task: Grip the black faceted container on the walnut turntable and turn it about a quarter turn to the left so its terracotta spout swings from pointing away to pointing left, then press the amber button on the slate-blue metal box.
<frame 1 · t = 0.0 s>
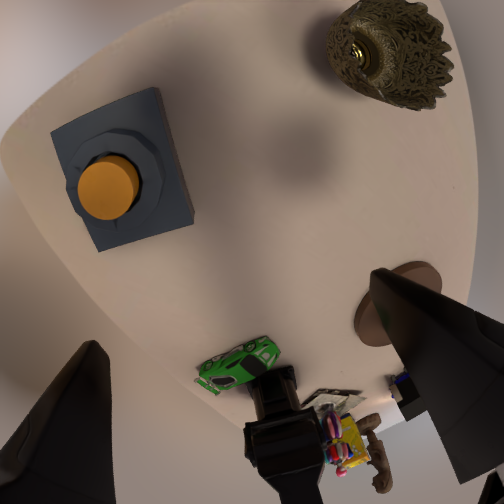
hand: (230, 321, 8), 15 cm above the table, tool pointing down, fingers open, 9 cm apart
turntable: (398, 304, 32), on the table
toy car: (237, 358, 32), on the table
figurine: (364, 421, 54), on the table
supplement box: (338, 420, 50), on the table
start button: (108, 187, 15), point 4 cm above the table, slide at 0.1 cm
button box: (126, 168, 19), on the table
black faceted container: (414, 320, 28), point 4 cm above the table, hinge at 0.0°
cup: (345, 56, 17), on the table
figurine character: (401, 379, 45), on the table
statue: (326, 403, 43), on the table
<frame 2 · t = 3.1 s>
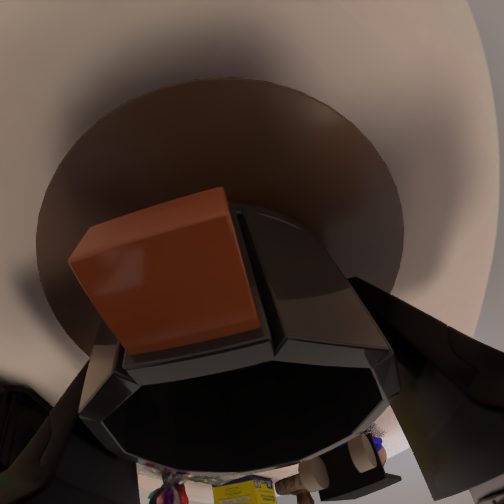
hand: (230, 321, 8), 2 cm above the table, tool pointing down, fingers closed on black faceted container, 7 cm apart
turntable: (222, 277, 10), on the table
figurine: (298, 477, 32), on the table
supplement box: (242, 479, 28), on the table
black faceted container: (227, 345, 6), point 4 cm above the table, hinge at 0.0°, touching gripper
figurine character: (344, 436, 23), on the table
statue: (184, 463, 21), on the table
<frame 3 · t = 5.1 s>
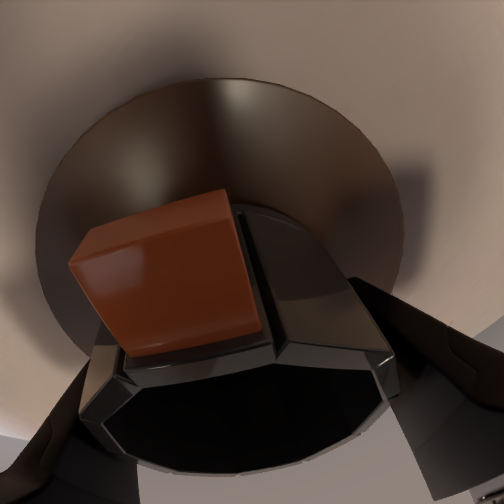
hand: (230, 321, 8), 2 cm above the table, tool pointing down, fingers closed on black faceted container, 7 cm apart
turntable: (222, 277, 10), on the table
black faceted container: (228, 347, 6), point 4 cm above the table, hinge at 99.8°, touching gripper
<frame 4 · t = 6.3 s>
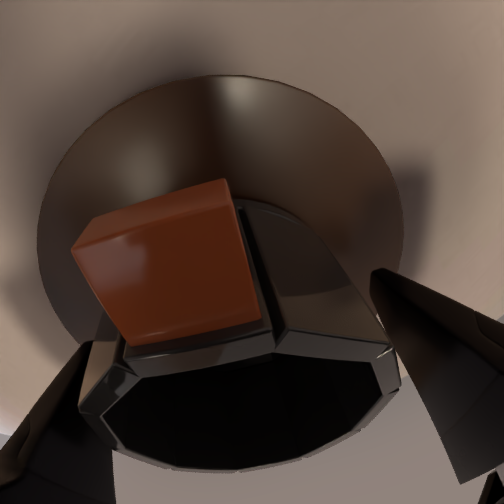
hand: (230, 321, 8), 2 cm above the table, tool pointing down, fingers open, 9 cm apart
turntable: (223, 274, 10), on the table
black faceted container: (228, 341, 6), point 4 cm above the table, hinge at 99.7°
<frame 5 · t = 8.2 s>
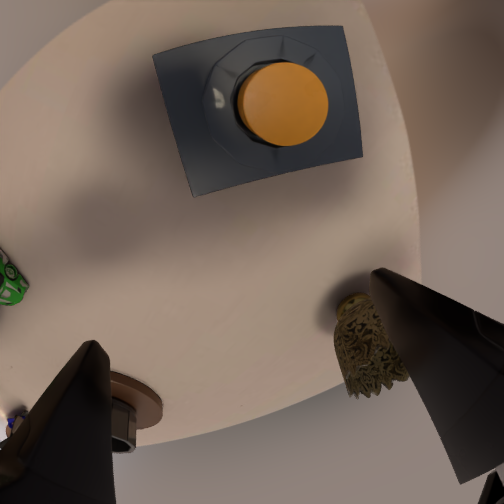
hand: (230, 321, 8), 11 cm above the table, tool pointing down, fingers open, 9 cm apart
turntable: (109, 399, 27), on the table
start button: (281, 103, 11), point 4 cm above the table, slide at 0.1 cm
button box: (260, 101, 15), on the table
black faceted container: (101, 423, 23), point 4 cm above the table, hinge at 99.7°
cup: (350, 303, 25), on the table
figurine character: (26, 419, 29), on the table
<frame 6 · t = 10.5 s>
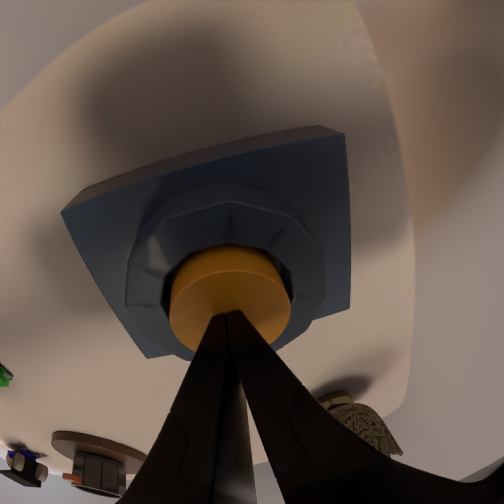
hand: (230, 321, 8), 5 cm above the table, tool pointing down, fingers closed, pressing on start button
turntable: (100, 452, 24), on the table
start button: (228, 301, 9), point 4 cm above the table, slide at -0.4 cm, touching gripper
button box: (219, 240, 12), on the table
black faceted container: (94, 475, 21), point 4 cm above the table, hinge at 99.7°
cup: (330, 397, 22), on the table
figurine character: (24, 450, 27), on the table
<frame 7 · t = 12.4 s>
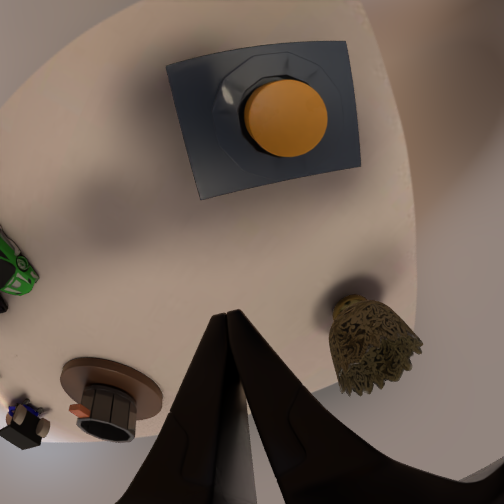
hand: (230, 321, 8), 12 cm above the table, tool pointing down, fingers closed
turntable: (111, 389, 28), on the table
start button: (284, 116, 12), point 4 cm above the table, slide at 0.1 cm
button box: (266, 111, 16), on the table
black faceted container: (102, 412, 25), point 4 cm above the table, hinge at 99.7°
cup: (347, 304, 26), on the table
figurine character: (26, 407, 31), on the table
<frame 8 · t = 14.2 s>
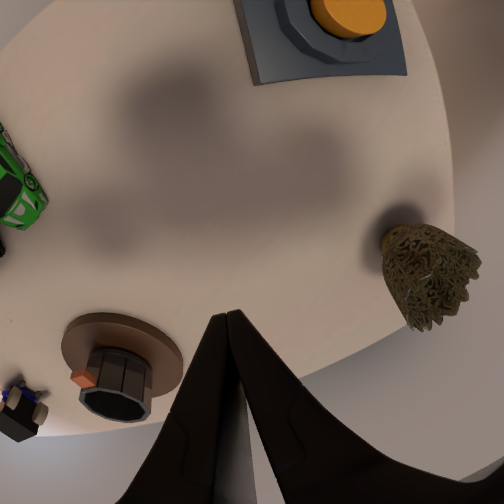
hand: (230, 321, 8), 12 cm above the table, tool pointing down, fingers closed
turntable: (121, 358, 25), on the table
toy car: (5, 169, 14), on the table
start button: (348, 6, 9), point 4 cm above the table, slide at 0.1 cm
button box: (317, 22, 13), on the table
black faceted container: (111, 383, 22), point 4 cm above the table, hinge at 99.7°
cup: (392, 238, 23), on the table
figurine character: (22, 392, 28), on the table
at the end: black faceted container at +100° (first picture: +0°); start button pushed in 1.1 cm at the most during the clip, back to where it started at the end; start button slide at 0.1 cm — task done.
